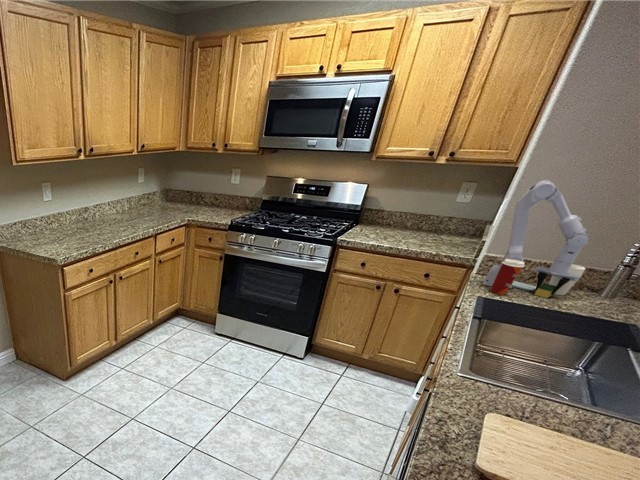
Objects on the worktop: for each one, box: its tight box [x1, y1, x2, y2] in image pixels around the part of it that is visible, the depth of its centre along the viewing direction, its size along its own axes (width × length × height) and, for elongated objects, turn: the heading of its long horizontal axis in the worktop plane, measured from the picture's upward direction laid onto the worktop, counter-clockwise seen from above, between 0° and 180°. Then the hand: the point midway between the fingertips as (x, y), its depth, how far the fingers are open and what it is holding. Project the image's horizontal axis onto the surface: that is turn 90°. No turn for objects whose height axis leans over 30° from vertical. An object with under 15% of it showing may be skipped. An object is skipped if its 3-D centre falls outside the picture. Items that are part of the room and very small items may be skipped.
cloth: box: [511, 280, 536, 292], centre depth 192 cm, size 11×8×1 cm
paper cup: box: [489, 259, 526, 296], centre depth 180 cm, size 8×8×14 cm
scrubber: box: [534, 283, 556, 299], centre depth 182 cm, size 7×4×4 cm, turn 124°
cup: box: [548, 263, 587, 296], centre depth 183 cm, size 9×9×12 cm
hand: (544, 292), depth 182 cm, fingers open, 5 cm apart
